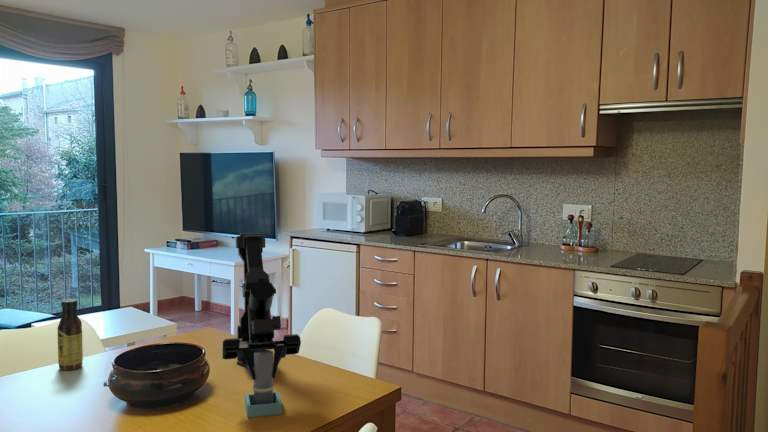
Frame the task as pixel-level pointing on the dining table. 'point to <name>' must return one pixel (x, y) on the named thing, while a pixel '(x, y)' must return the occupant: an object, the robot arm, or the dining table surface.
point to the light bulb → (263, 377)
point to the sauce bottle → (70, 337)
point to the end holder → (263, 406)
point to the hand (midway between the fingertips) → (263, 378)
